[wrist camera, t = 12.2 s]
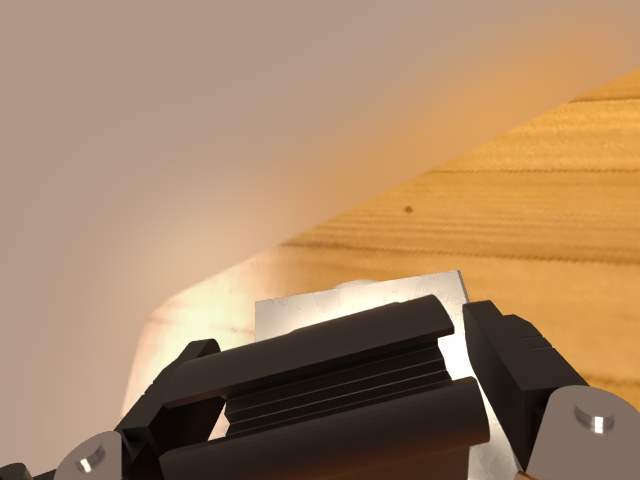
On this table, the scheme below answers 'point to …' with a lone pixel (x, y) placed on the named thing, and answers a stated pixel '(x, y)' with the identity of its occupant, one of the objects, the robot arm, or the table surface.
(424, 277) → the pan
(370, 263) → the table surface
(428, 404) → the phone stand
